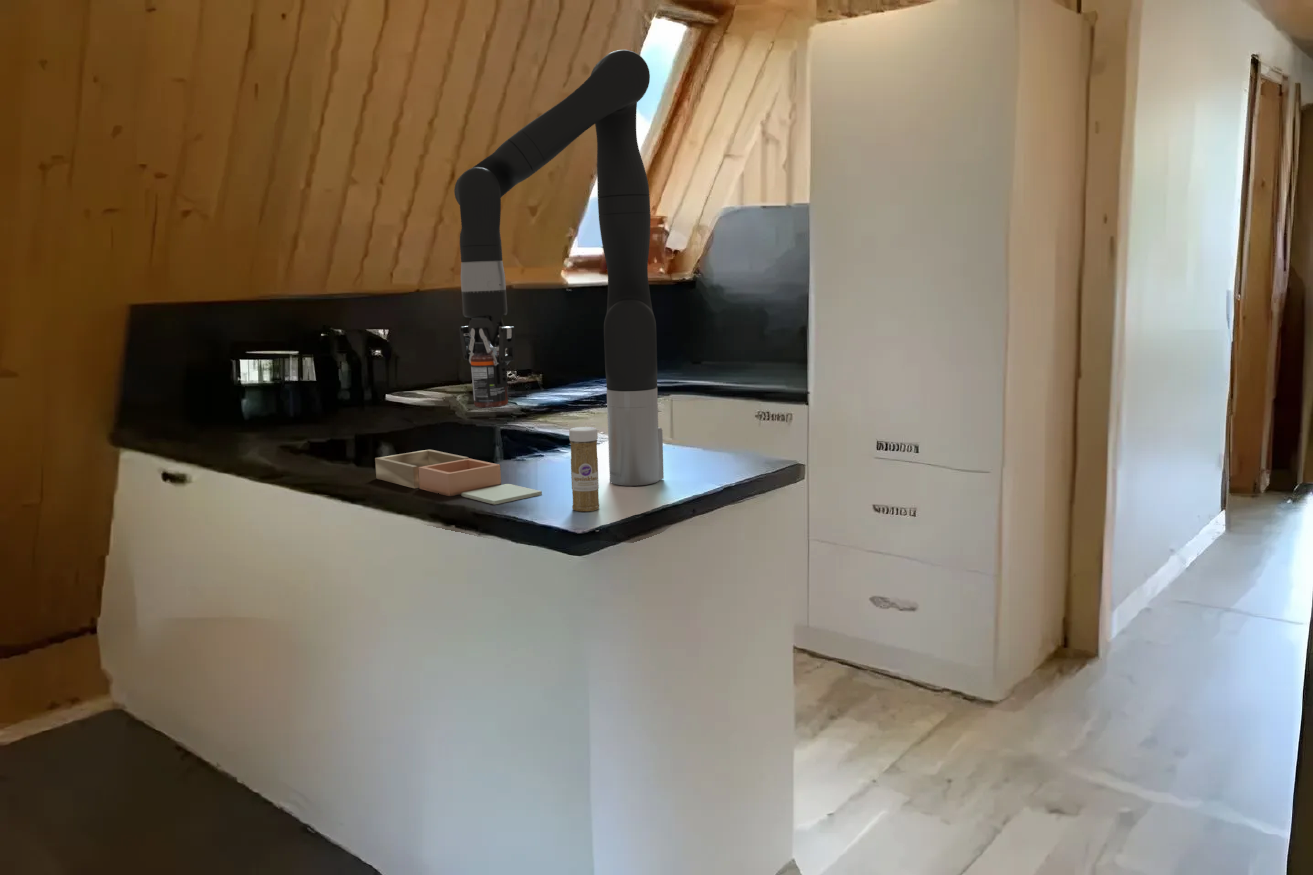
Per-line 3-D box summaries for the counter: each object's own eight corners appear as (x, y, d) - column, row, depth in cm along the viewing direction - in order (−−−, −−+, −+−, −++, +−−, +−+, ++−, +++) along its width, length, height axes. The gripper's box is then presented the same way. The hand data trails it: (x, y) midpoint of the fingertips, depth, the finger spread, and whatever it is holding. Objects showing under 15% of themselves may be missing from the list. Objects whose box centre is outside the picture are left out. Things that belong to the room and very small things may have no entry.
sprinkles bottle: (577, 513, 164) (574, 431, 162) (568, 508, 168) (565, 427, 166) (604, 510, 166) (601, 428, 164) (594, 504, 170) (591, 425, 168)
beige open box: (430, 468, 205) (429, 449, 204) (469, 477, 195) (468, 457, 194) (376, 478, 197) (375, 458, 196) (414, 488, 187) (412, 466, 186)
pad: (508, 486, 186) (508, 483, 186) (541, 494, 179) (541, 491, 179) (461, 496, 179) (461, 492, 179) (494, 504, 172) (494, 501, 172)
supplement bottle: (493, 403, 182) (488, 339, 180) (515, 405, 178) (511, 340, 176) (466, 407, 178) (462, 342, 176) (489, 409, 174) (484, 343, 172)
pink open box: (470, 479, 194) (469, 458, 193) (501, 486, 187) (500, 464, 186) (419, 488, 186) (418, 467, 186) (449, 496, 179) (448, 474, 178)
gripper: (526, 287, 172) (532, 386, 175) (478, 288, 182) (485, 381, 185) (488, 289, 167) (495, 391, 170) (442, 290, 177) (449, 386, 180)
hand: (490, 385), depth 177 cm, fingers closed on supplement bottle, 6 cm apart
